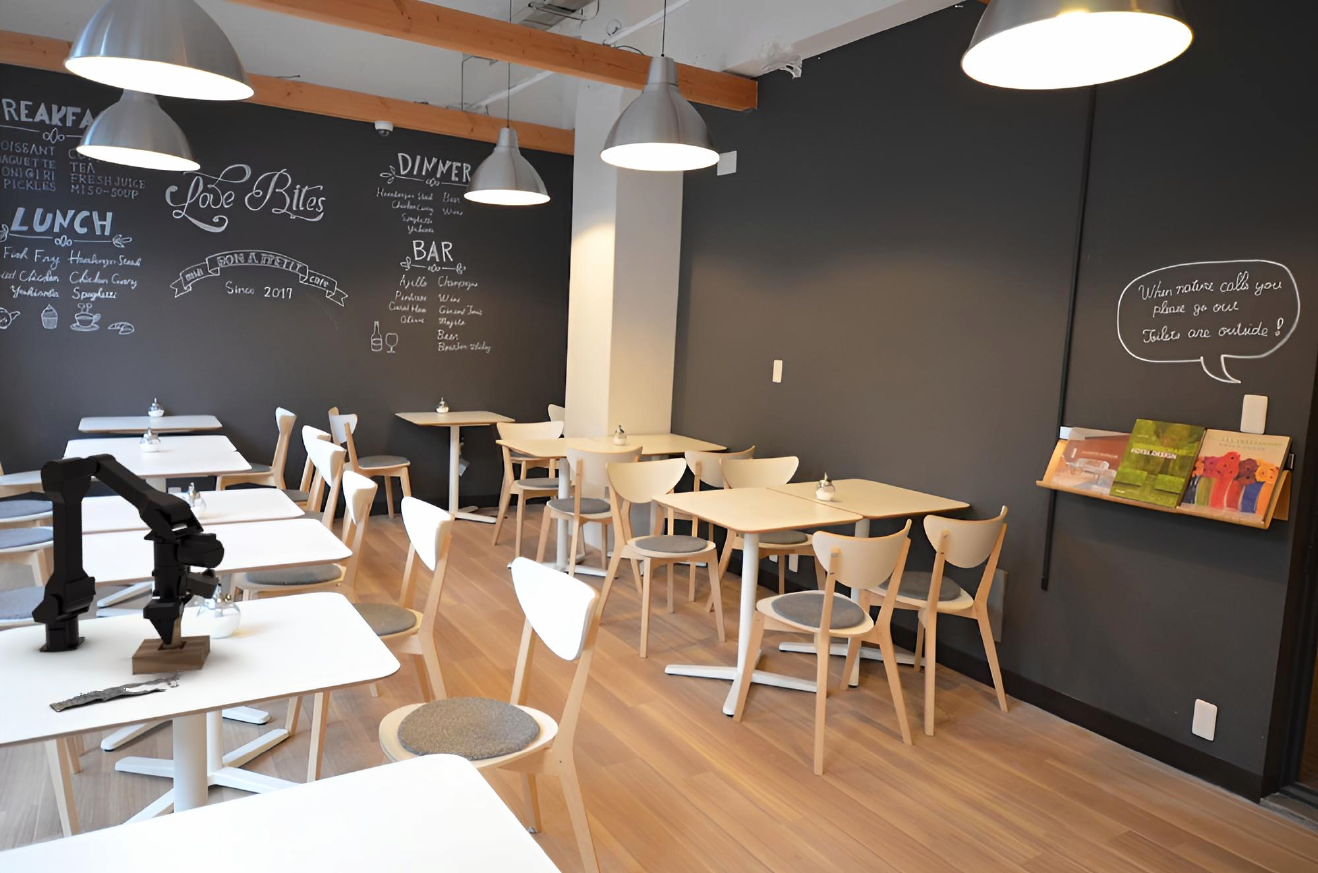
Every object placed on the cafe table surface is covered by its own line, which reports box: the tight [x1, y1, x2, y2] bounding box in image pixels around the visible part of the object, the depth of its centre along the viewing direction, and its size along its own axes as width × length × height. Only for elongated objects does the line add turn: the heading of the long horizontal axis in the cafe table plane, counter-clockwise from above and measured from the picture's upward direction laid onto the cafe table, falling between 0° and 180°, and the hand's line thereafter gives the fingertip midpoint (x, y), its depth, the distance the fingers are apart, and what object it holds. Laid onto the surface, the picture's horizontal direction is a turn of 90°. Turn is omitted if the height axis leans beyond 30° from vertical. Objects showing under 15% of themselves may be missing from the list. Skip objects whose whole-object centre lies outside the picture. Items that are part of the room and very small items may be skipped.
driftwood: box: [50, 671, 180, 712], centre depth 158 cm, size 21×7×2 cm, turn 128°
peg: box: [163, 616, 182, 650], centre depth 172 cm, size 3×3×12 cm
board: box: [131, 634, 211, 675], centre depth 173 cm, size 10×12×4 cm
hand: (172, 638), depth 173 cm, fingers open, 7 cm apart
